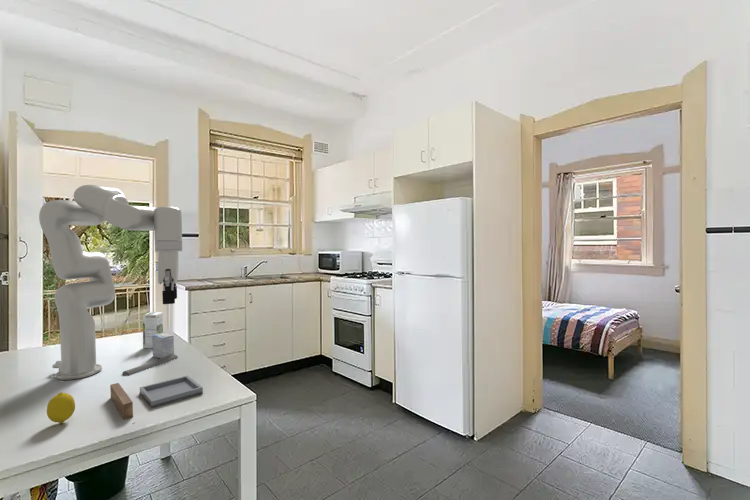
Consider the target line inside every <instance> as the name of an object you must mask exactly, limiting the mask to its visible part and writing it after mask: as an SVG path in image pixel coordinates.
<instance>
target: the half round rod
mask: <svg viewBox="0 0 750 500" xmlns="http://www.w3.org/2000/svg"><path fill="white" fill-rule="evenodd" d="M177 358H178V359H179V357H178V355H177V354H174V355H171V356H168V357H165V358H162V359H161V358H158V359H157V360H154V361H150V362H148V363H145V364H142V365H139V366H136V367H134V368H130V369H127V370H124V371H123V372H122V375H128V376H132V375H135V374H137V373H140V372H143V371H146V369H147V370H149V368H150V369H152V368H155V367H157V365H158V366H160V364H161V365H164V364H166V362H167V363H169V362H172V361H174V359H175V360H178V359H177ZM171 360H172V361H171ZM163 363H164V364H163ZM154 366H155V367H154Z"/></svg>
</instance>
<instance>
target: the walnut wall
mask: <svg viewBox="0 0 750 500" xmlns="http://www.w3.org/2000/svg"><path fill="white" fill-rule="evenodd" d="M110 399H111V401H112V402H113V404H114V406H115V408H116V409H117V411H118V412H119V414H120V415H121V417H122V418H123V420H127V419H130V418H133V417H134V406H133V405H134V404H133V403H134V402H133V400H132V399H131V398H130V396H129V395H128V394H127V392H126V391H125V390H124V388H123V387H122V385H121V384H120V383H119V382H117V383H112V384H110Z"/></svg>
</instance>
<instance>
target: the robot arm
mask: <svg viewBox="0 0 750 500" xmlns="http://www.w3.org/2000/svg"><path fill="white" fill-rule="evenodd" d="M73 199H74V200H70V199H69V200H68V199H59V200H58V199H56V200H49V201H47V202H45V203H44V204H43V205H42V206H41V207H40V210H39V214H38V219H39V220H38V221H39V225H40V227H41V230H42V233H43V234H44V236H45V238H46V240H47V243H48V247H49V248H48V249H49V252H50V256H51V257H50V258H51V261H52V265H53V270H54V273H55V274H56V277H57V278H58V279H61V280H64V281H69V280H81V279H88V280H89V281H79V282H72V283H67V284H64V285H62V286H60V287H59V288H57V289H56V291H55V293H54V303H55V307H56V309H57V315H58V321H59V335H60V336H59V338H60V339H59V340H60V360H56V361H55V363H54V364H52V367H51V368H52V369H58V371H57V372H56V374H55V378H56V379H57V380H60V381H64V380H65V381H67V380H68V381H69V380H75V379H76V380H78V379H83V378H87V377H90V376H93V375H96V374H98V373H99V372H101V371H102V370H103V365H100V363H99V364H97V347H96V345H97V344H96V343H97V341H96V322H95V319H94V317H93V315H92V314H91V313H90V312H89V311H88V310H89V309H92V308H94V309H95V308H100V307H104V306H107V305H110V304H112V302H113V301H114V299H115V297H116V288H115V283H114V277H113V274H112V271H111V265H110V262H109V259H108V257H107V256H105V254H103V253H102V252H99V251H84V250H83V248H82V242H81V239H80V237H79V236H78V235H77V234H76V232H75V231H73V229H71V228H70V227H69V226H82V227H83V226H85V227H86V226H89V227H91V226H93V227H94V226H98V225H101V224H103V223H104V222H107V223H108V224H110V225H111V226H114V227H117V228H120V229H123V230H126V231H142V232H143V231H144V232H145V231H147V232H149V231H150V232H154V233H153V234H154V235H153V236H154V252H157V253H158V255H157V256H158V258H157V259H158V260H157V263H158V264H157V283H158V284H159V285H161V284H162V291H161V292H162V304H163V305H172V304H176V300H177V299H178V286H177V282H178V280H179V252H183V230H182V229H183V228H182V227H183V225H182V223H183V222H182V220H183V219H182V210H181V209H180V208H178V207H175V206H157V207H153V206H144V205H143V206H141V205H133V204H132V205H131V204H129V201H128V199H127V198H126V196H125V194H124V193H123V191H121V190H120V189H118V188H117V187H113V186H104V185H98V184H97V185H96V184H85V185H84V184H83V185H81V186H80V185H79V187H78V188H76V189H75V191H74V193H73Z"/></svg>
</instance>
